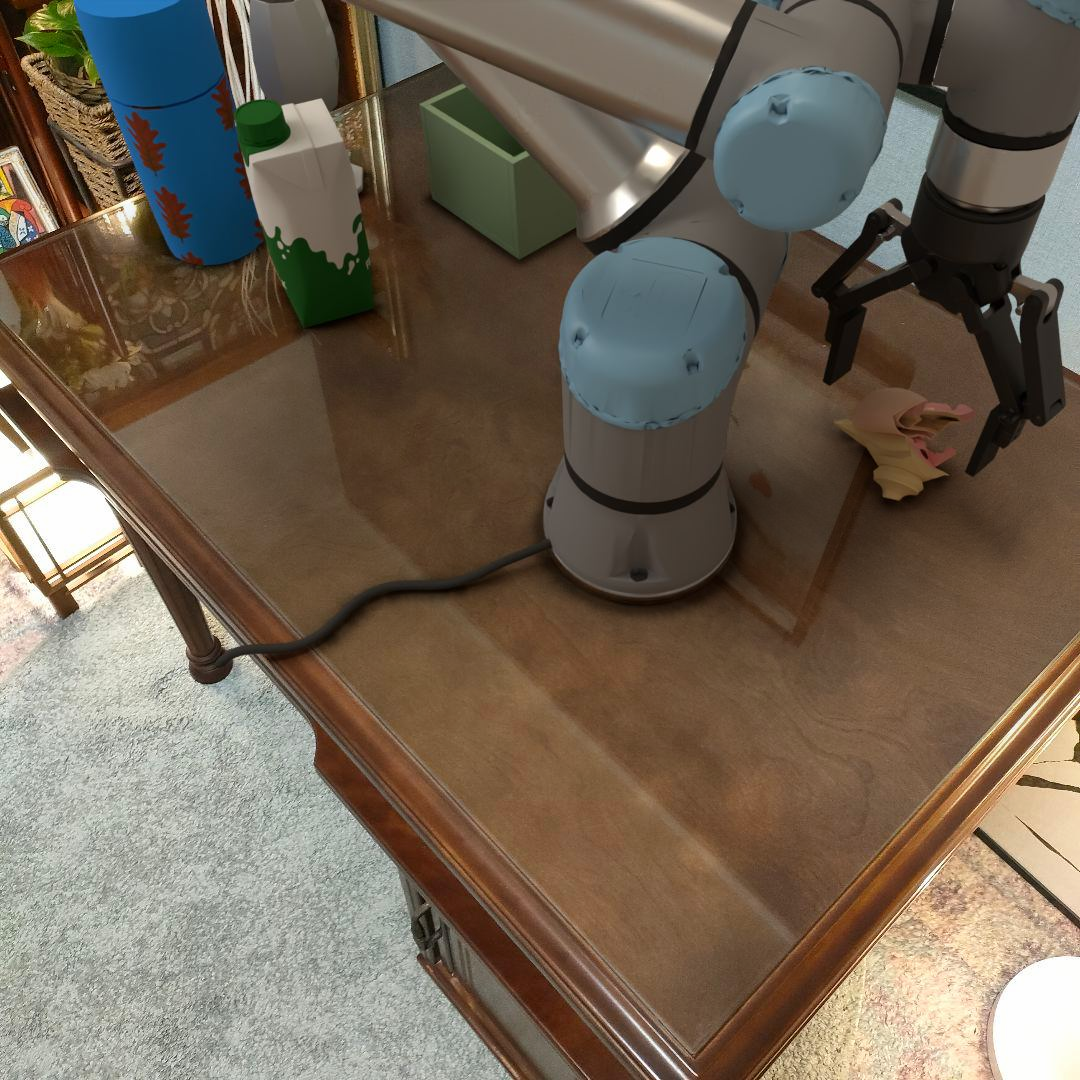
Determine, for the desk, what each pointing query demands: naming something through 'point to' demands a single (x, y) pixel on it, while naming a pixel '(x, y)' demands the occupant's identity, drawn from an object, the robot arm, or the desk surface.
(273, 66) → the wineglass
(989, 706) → the desk surface
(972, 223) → the robot arm
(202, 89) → the thermos
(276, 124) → the milk carton
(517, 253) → the chest
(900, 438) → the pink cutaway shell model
